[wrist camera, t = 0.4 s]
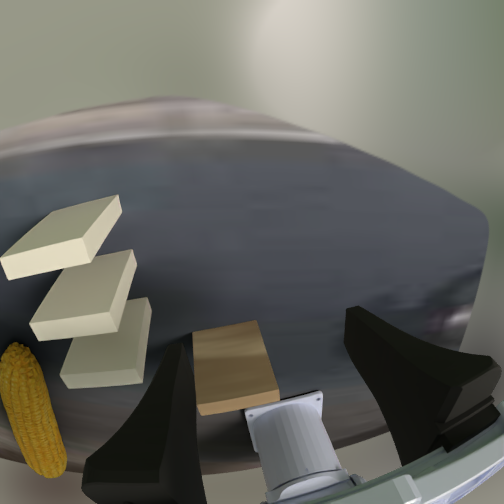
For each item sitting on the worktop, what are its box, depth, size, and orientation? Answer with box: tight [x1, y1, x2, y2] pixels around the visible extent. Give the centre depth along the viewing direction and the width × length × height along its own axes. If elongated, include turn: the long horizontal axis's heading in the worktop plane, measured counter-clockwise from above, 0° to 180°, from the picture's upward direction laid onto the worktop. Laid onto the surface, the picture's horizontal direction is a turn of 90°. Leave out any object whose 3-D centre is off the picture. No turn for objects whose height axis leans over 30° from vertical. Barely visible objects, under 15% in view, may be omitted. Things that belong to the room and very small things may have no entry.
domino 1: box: [0, 195, 122, 280], centre depth 15 cm, size 1×5×7 cm, turn 97°
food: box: [0, 342, 67, 478], centre depth 22 cm, size 21×6×6 cm, turn 164°
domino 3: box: [60, 297, 152, 389], centre depth 18 cm, size 1×5×7 cm, turn 97°
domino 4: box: [192, 320, 280, 416], centre depth 21 cm, size 1×5×7 cm, turn 97°
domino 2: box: [29, 249, 137, 341], centre depth 17 cm, size 1×5×7 cm, turn 97°
